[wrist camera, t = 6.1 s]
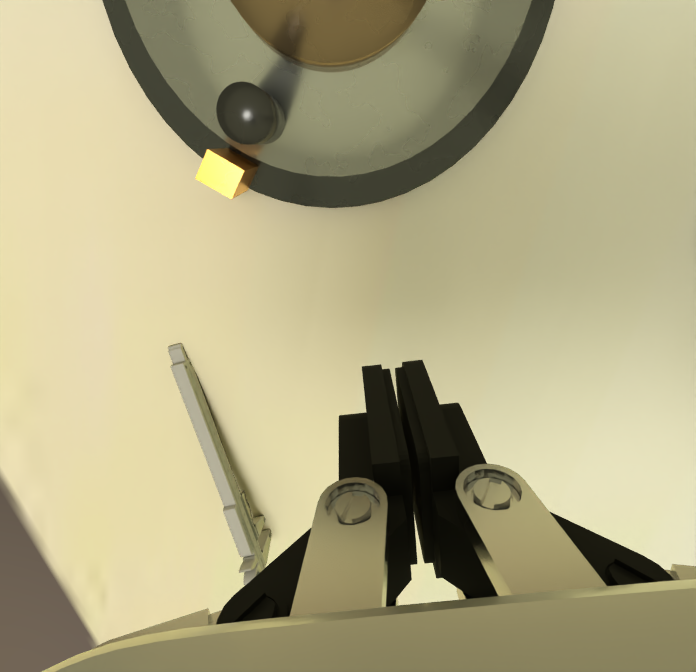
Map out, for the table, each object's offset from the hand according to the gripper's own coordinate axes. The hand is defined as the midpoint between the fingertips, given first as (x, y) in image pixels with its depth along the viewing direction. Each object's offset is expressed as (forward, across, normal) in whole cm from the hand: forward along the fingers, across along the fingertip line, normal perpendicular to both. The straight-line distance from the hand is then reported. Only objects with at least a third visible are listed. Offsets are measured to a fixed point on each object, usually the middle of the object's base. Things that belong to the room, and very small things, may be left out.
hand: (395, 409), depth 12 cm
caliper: (+20, +13, +15) cm, 28 cm away
